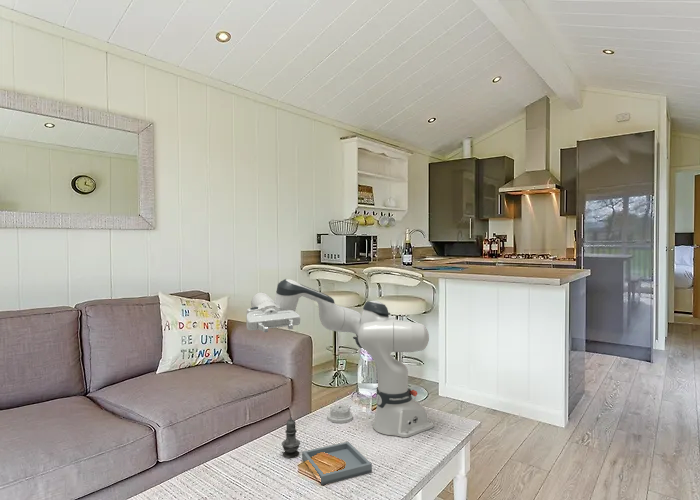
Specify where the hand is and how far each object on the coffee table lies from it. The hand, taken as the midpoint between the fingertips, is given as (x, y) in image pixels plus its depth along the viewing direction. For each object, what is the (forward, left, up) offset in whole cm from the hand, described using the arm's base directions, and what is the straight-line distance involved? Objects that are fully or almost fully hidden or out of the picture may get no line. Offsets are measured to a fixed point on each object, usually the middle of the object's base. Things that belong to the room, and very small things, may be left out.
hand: (278, 328), depth 161 cm
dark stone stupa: (+2, +21, -36) cm, 42 cm away
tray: (-8, +34, -36) cm, 50 cm away
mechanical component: (-24, +2, -37) cm, 44 cm away
